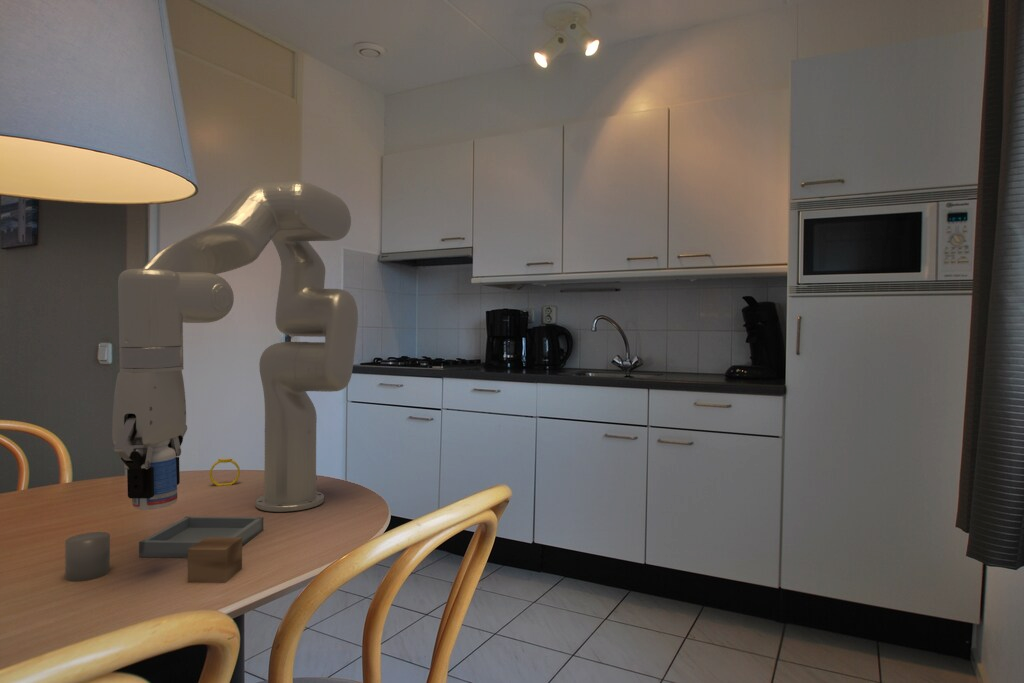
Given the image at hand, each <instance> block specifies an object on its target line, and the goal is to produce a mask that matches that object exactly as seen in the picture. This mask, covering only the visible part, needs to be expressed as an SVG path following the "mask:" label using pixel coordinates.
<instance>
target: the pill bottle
mask: <svg viewBox="0 0 1024 683" xmlns="http://www.w3.org/2000/svg"><path fill="white" fill-rule="evenodd" d="M169 441H170V440H169V439H168V440H166V441H163V442H161V443H159V444H156V445H153V451H152V457H151V463H150V467H149V468H154V496H153V497H151V498H131V503H132V507H133V508H134V509H135V510H139V511H140V510H143V511H144V510H145V511H146V510H147V511H149V510H156V509H157V510H158V509H161V508H162V509H163V508H165V507H166V508H167V507H170V506H172V505H174V504H175V503H177V502H178V485H177V470H176V457H177V456H176V452H175V450H174V449H172V448H170V447H168V444H169V443H170V442H169ZM136 444H143V443H142V440H137V442H136ZM136 451H137V452H138V453H139V454H140V455H141V456H143V450H136Z"/></svg>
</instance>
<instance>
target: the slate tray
mask: <svg viewBox="0 0 1024 683" xmlns="http://www.w3.org/2000/svg"><path fill="white" fill-rule="evenodd" d="M262 532H264V517H263V516H262V517H261V516H258V517H257V516H251V517H250V516H185V517H183V518H181V519H180V520H178V521H175V522H173V523H172V524H170V525H168V526H166V527H164V528H163V529H161V530H159V531H158V532H155V533H153V534H151V535H150V536H148V537H146V538H144V539H142V540H141V541H139V542H138V557H139V558H182V559H183V558H185V559H188V549H189V548H191V547H192V546H194V545H195V544H197V543H198V542H200V541H202V540H203V539H205V538H206V537H242V547H243V546H245V545H247V544H248V543H249V542H250V541H251V540H253V539H254V538H255V537H257V536H258V535H259V534H261V533H262Z"/></svg>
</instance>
